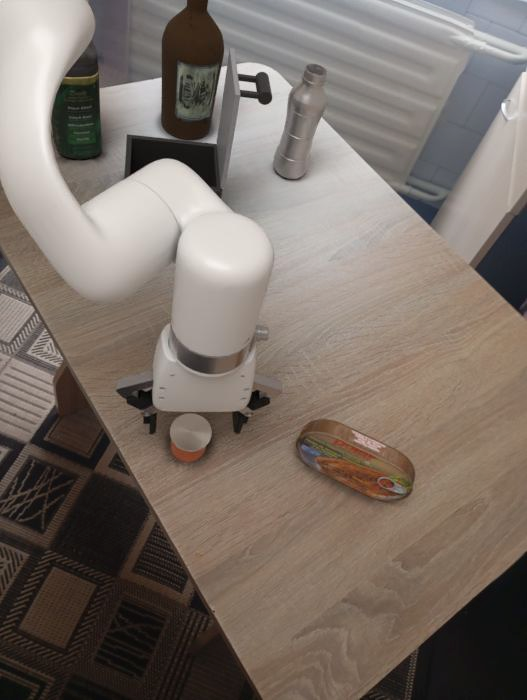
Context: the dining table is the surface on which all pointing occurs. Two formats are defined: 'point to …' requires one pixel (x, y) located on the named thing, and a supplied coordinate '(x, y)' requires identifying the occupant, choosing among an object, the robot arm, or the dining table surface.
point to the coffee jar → (78, 109)
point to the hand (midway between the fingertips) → (194, 422)
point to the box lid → (236, 109)
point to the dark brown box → (174, 156)
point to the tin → (356, 460)
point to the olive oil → (190, 71)
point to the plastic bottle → (301, 123)
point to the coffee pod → (189, 436)
